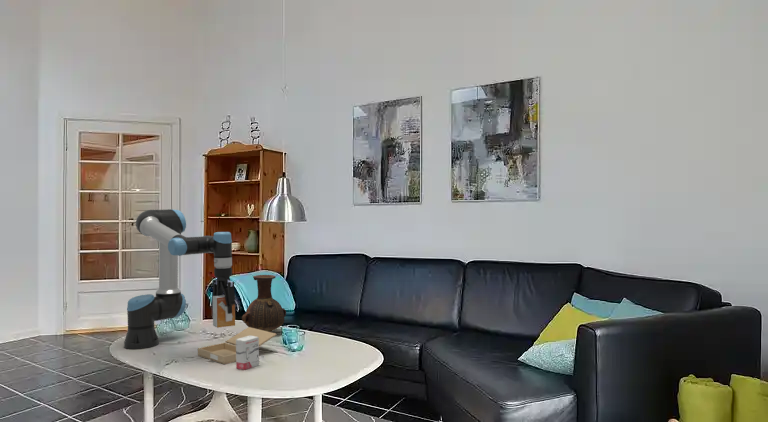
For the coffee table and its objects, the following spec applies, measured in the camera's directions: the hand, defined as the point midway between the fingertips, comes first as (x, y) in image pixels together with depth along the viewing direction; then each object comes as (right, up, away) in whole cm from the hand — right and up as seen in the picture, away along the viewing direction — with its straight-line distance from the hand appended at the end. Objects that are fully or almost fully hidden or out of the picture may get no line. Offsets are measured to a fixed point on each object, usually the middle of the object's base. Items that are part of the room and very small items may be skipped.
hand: (224, 319), depth 240 cm
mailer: (0, -16, 0) cm, 16 cm away
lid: (+9, -10, +10) cm, 17 cm away
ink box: (+14, -16, -16) cm, 27 cm away
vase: (+8, -16, +43) cm, 47 cm away
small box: (0, -3, 0) cm, 3 cm away
